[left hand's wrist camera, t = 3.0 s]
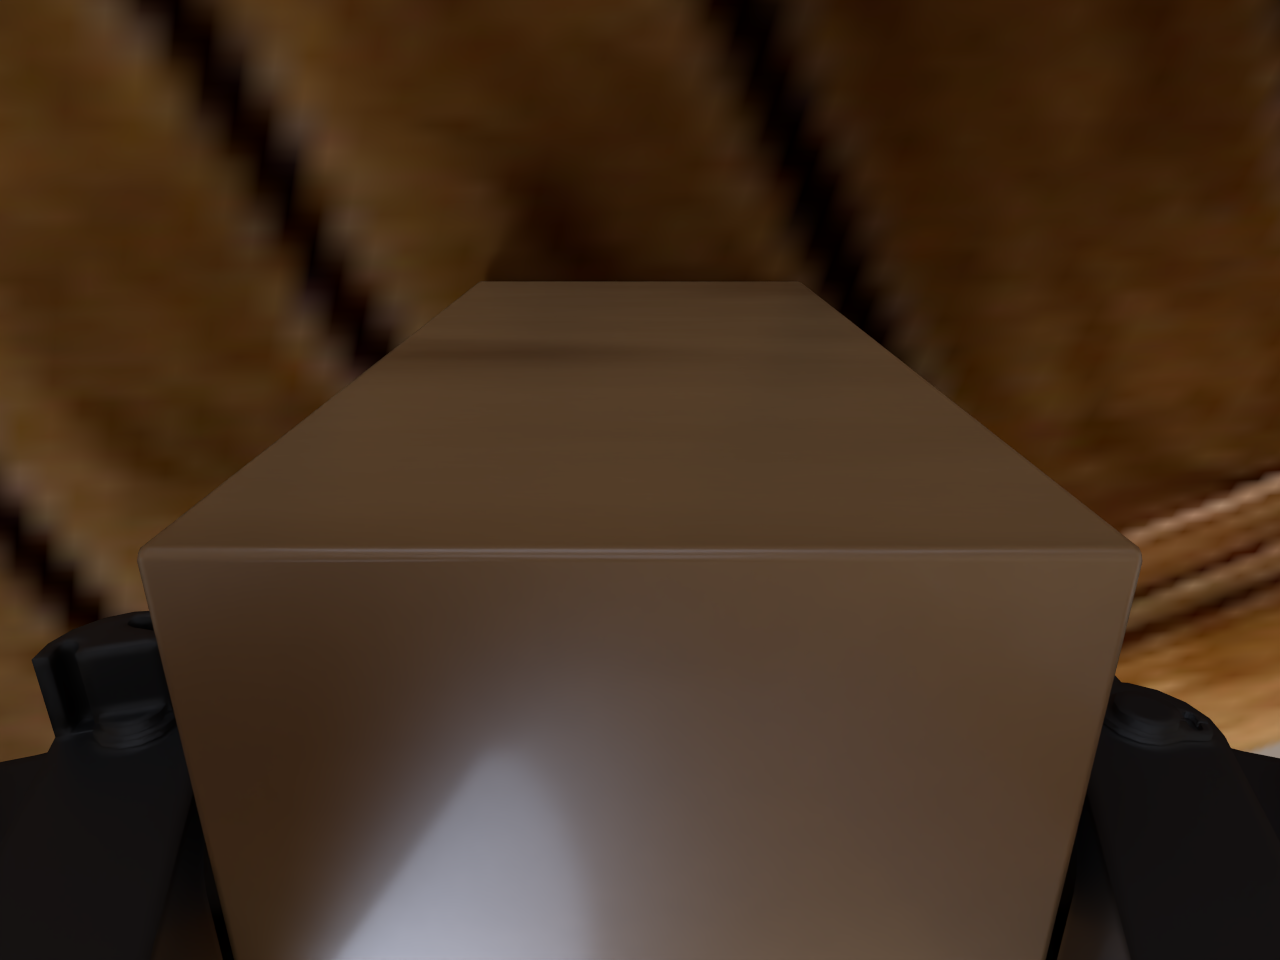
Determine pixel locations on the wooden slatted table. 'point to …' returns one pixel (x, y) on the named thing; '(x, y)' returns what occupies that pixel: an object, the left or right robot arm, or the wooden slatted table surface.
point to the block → (639, 648)
